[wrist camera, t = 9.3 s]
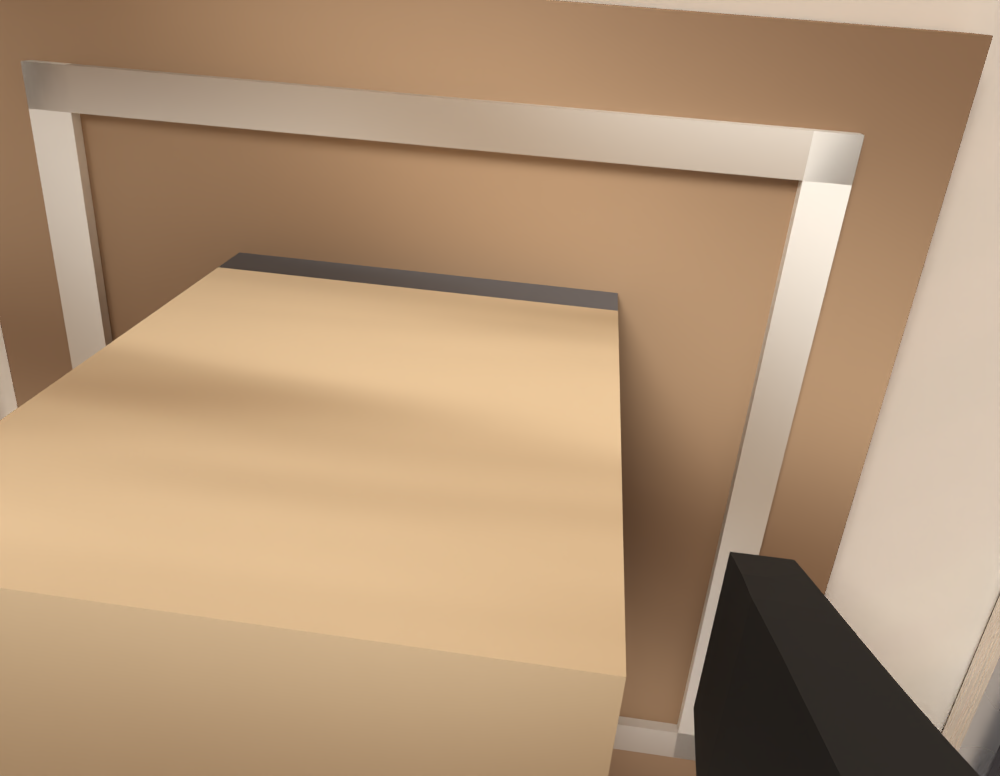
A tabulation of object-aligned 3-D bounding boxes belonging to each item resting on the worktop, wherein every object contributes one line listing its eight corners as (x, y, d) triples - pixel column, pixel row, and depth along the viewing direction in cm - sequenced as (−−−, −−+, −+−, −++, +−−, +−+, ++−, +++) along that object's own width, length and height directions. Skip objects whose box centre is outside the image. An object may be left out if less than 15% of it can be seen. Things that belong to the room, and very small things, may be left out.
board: (754, 776, 13) (761, 818, 13) (99, 679, 14) (73, 714, 14) (969, 33, 9) (1000, 36, 8) (-36, -46, 9) (-88, -49, 9)
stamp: (574, 600, 12) (543, 1130, 6) (260, 557, 12) (-30, 1025, 7) (617, 293, 10) (626, 676, 4) (239, 252, 10) (-197, 559, 5)
